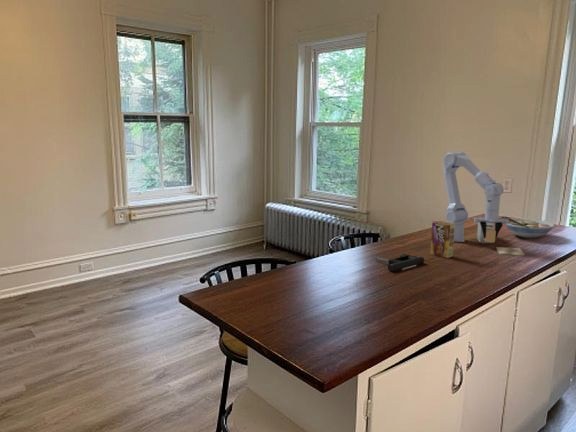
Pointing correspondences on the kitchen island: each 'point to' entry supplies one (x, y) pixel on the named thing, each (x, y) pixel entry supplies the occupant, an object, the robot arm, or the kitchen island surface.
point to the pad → (510, 251)
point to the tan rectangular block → (490, 235)
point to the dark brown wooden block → (480, 232)
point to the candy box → (442, 238)
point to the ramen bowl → (528, 227)
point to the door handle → (401, 262)
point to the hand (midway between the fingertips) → (489, 237)
